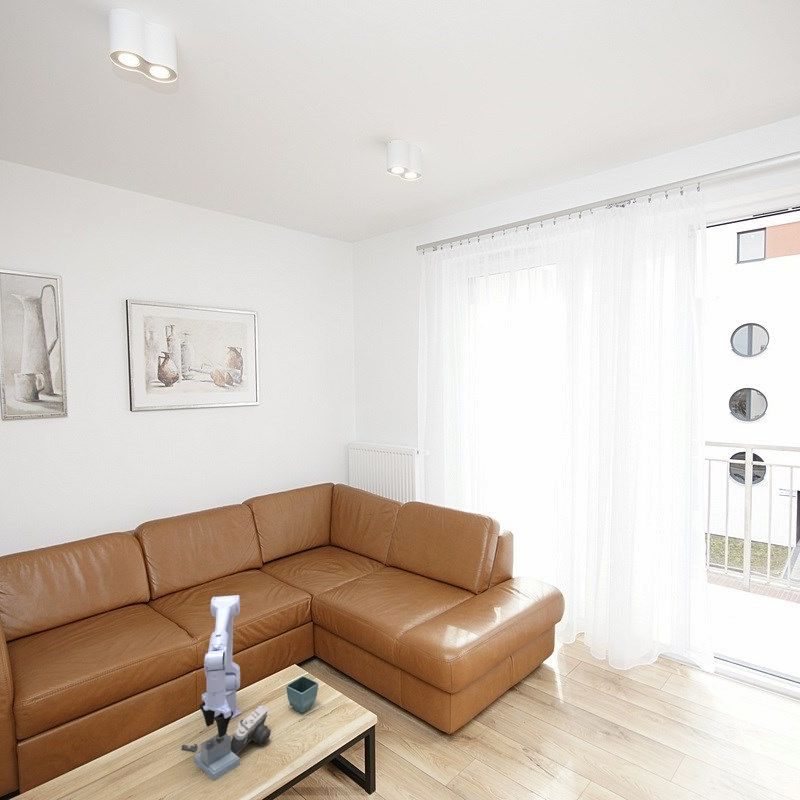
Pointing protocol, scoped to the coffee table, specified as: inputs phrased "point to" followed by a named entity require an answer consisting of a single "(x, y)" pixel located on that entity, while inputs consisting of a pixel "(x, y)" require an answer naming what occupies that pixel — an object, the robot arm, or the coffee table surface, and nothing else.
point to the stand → (218, 765)
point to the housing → (215, 749)
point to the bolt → (190, 747)
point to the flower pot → (302, 693)
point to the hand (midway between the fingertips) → (216, 730)
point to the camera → (251, 730)
